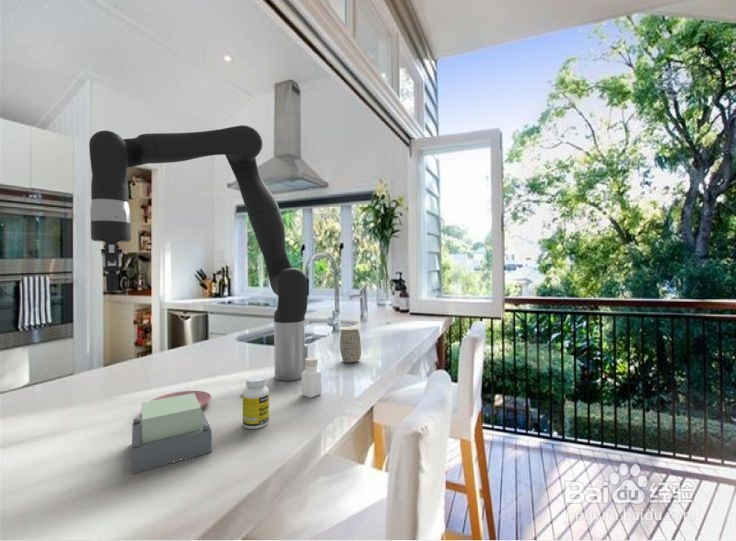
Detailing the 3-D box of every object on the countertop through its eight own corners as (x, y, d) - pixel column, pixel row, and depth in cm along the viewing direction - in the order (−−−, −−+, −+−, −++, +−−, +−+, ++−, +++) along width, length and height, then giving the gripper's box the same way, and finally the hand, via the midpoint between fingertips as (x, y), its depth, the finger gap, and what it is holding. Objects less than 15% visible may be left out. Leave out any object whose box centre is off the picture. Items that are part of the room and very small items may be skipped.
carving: (339, 359, 126) (339, 326, 126) (360, 358, 127) (360, 326, 127) (340, 364, 120) (339, 329, 120) (361, 363, 121) (361, 329, 121)
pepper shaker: (300, 395, 91) (300, 358, 91) (313, 391, 94) (312, 356, 94) (310, 398, 89) (310, 361, 89) (322, 394, 92) (322, 358, 92)
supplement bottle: (261, 430, 71) (261, 383, 71) (237, 428, 73) (237, 381, 72) (273, 419, 77) (273, 375, 77) (251, 417, 78) (250, 374, 78)
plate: (167, 398, 91) (167, 390, 91) (221, 398, 90) (221, 390, 90) (127, 422, 76) (127, 413, 76) (191, 422, 76) (191, 413, 76)
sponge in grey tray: (201, 427, 73) (201, 389, 73) (211, 452, 63) (211, 408, 63) (132, 443, 67) (132, 401, 67) (132, 474, 57) (131, 425, 57)
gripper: (131, 218, 78) (133, 290, 78) (129, 225, 89) (130, 288, 90) (88, 216, 74) (90, 292, 74) (92, 223, 85) (93, 289, 85)
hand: (112, 290), depth 82 cm, fingers open, 8 cm apart
